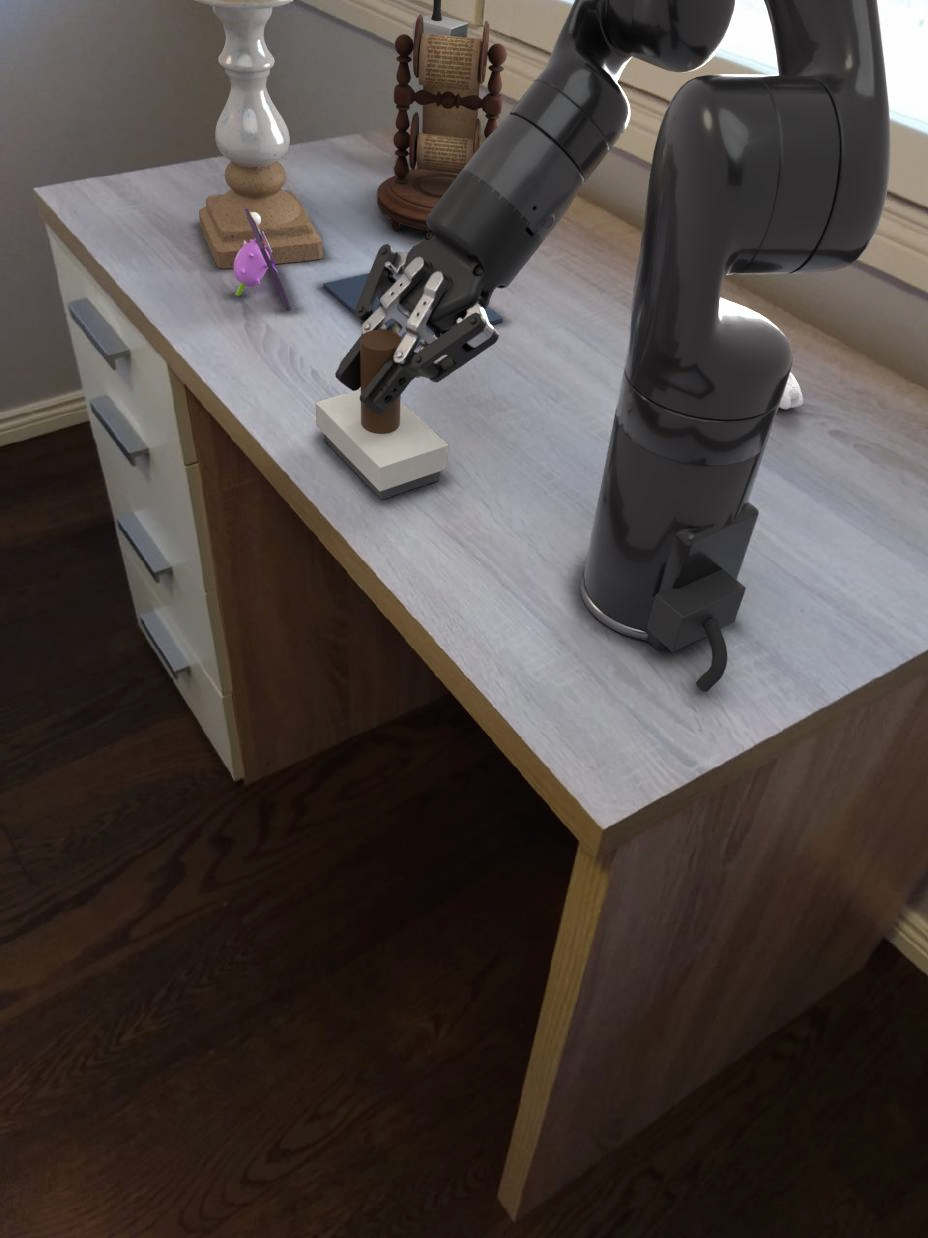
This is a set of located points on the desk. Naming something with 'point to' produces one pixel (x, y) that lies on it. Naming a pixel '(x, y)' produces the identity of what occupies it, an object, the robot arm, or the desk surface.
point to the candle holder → (253, 149)
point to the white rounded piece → (791, 394)
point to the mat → (353, 287)
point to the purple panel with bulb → (255, 260)
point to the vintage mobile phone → (438, 27)
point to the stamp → (381, 430)
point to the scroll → (438, 118)
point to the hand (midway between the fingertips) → (357, 395)
